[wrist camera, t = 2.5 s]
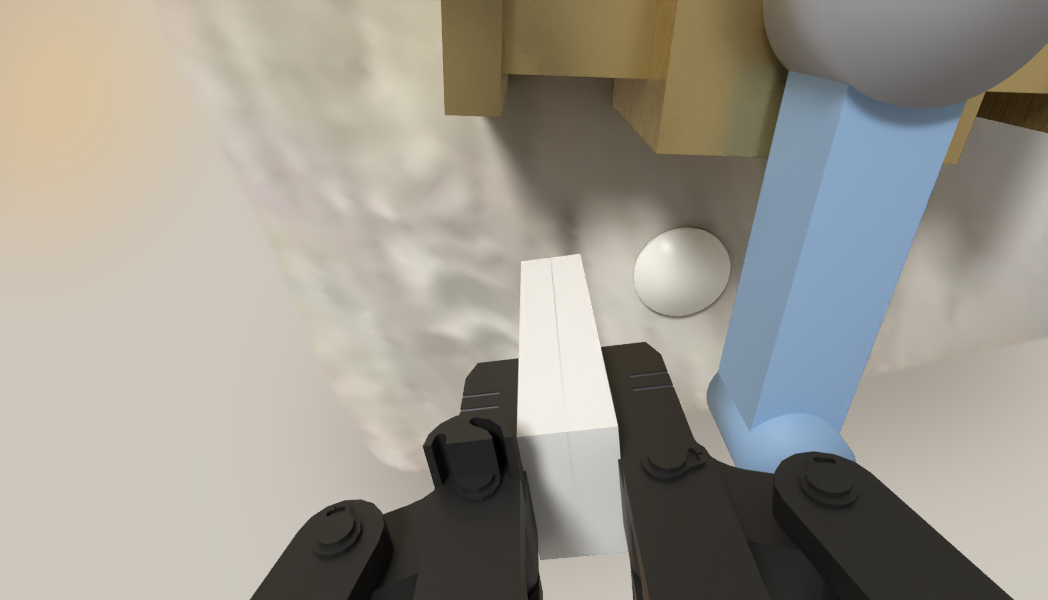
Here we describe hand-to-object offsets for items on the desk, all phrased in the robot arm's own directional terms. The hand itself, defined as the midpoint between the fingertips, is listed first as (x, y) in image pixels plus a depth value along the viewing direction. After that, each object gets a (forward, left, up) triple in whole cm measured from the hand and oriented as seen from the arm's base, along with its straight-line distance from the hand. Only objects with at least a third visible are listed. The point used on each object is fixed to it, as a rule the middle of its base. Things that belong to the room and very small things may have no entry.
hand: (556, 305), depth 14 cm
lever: (-2, +6, -2) cm, 7 cm away
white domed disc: (+4, +7, -11) cm, 13 cm away
